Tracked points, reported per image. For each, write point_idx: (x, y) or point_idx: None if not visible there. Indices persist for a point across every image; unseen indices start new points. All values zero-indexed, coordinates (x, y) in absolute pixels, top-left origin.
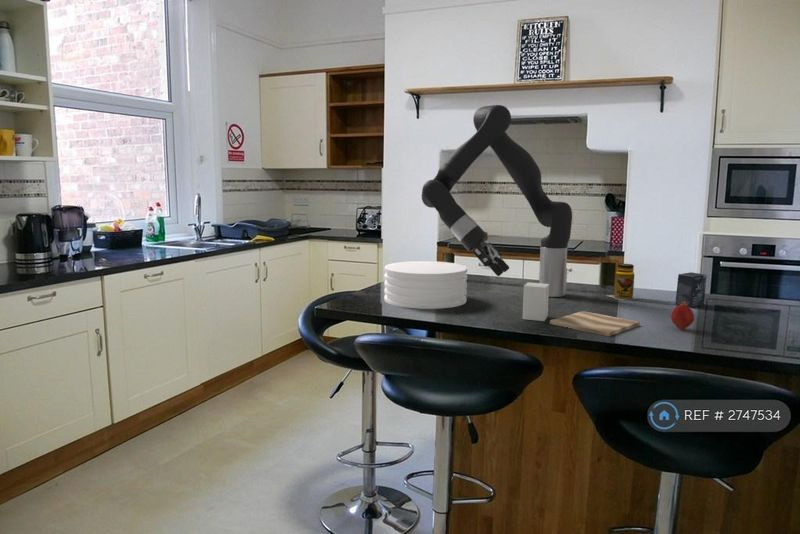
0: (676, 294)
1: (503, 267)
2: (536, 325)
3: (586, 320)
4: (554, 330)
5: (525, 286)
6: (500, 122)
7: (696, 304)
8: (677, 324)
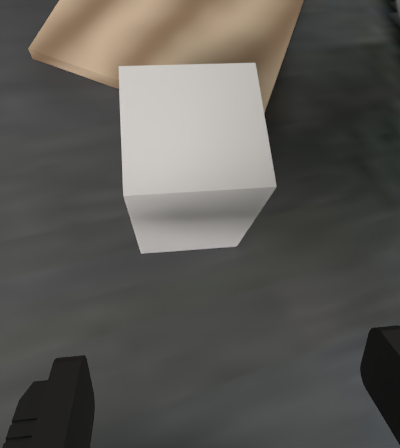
0: None
1: (82, 429)
2: (305, 174)
3: (189, 24)
4: (337, 108)
5: (274, 177)
6: None
7: None
8: None
